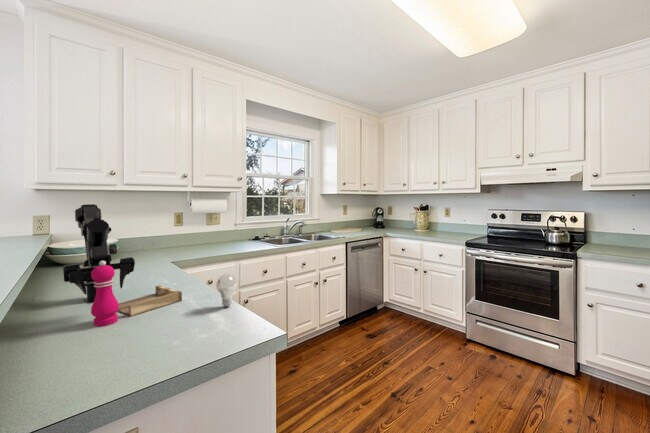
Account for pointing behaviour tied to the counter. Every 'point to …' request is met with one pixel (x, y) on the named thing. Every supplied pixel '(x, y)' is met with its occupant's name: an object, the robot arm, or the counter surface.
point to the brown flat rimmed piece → (151, 301)
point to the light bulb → (226, 288)
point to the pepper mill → (104, 296)
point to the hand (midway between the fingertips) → (104, 290)
